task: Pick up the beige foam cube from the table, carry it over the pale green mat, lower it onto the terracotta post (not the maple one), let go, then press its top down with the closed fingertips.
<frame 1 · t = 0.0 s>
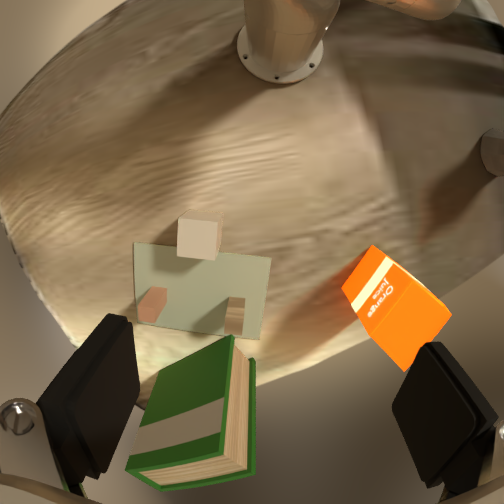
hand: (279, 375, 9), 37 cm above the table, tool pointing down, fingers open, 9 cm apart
orange juice: (372, 276, 47), on the table
hardback book: (205, 366, 53), on the table, touching mat
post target: (159, 294, 48), resting on mat
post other: (236, 304, 48), resting on mat
coffeepot: (491, 156, 40), on the table
beige foam cube: (204, 227, 45), on the table
mat: (197, 293, 48), on the table
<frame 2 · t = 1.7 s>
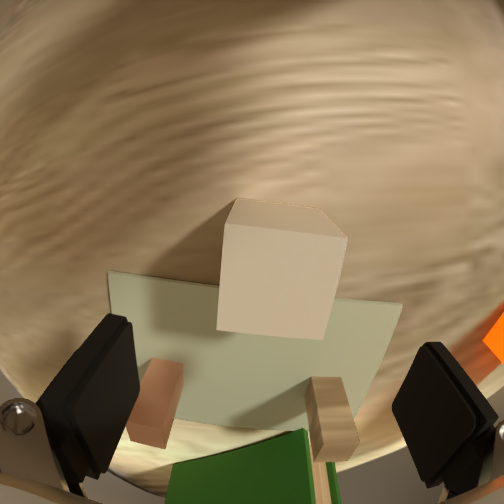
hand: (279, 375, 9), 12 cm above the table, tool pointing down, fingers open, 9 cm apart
hardback book: (249, 462, 28), on the table, touching mat
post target: (168, 371, 23), resting on mat
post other: (322, 387, 23), resting on mat
beige foam cube: (273, 242, 19), on the table
mat: (247, 371, 23), on the table
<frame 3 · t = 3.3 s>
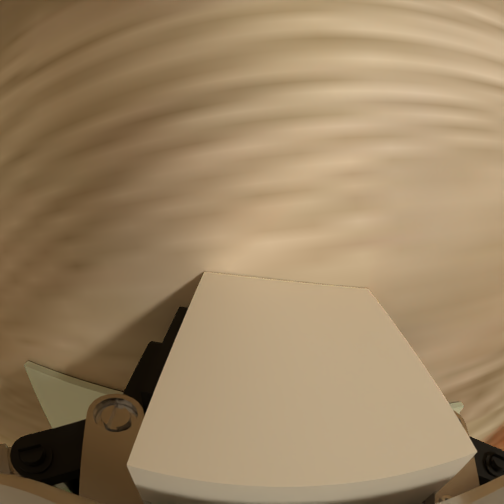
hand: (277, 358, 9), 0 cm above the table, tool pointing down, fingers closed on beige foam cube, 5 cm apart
beige foam cube: (277, 349, 10), on the table, touching gripper
mat: (236, 487, 13), on the table
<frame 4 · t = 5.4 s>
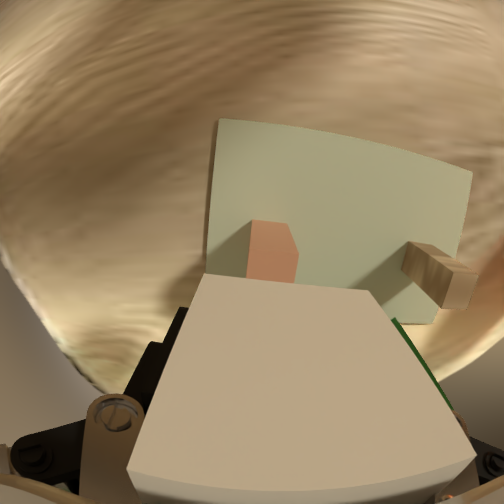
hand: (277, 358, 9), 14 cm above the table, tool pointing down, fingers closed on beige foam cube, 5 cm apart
hardback book: (329, 383, 28), on the table, touching mat
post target: (267, 238, 23), resting on mat
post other: (416, 257, 23), resting on mat
beige foam cube: (276, 351, 10), point 14 cm above the table, touching gripper
mat: (350, 234, 23), on the table
when the fingers open (3 cm above the table, at t = 7.8 s): beige foam cube drops 1 cm, resting on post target.
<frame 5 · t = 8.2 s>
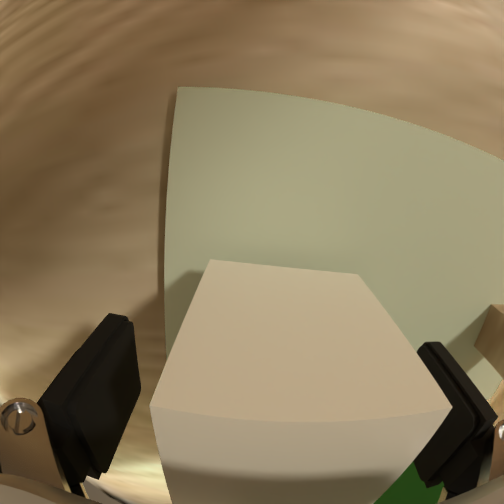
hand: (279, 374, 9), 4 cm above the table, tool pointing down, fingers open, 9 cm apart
hardback book: (351, 476, 17), on the table, touching mat
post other: (495, 325, 12), resting on mat
beige foam cube: (276, 331, 11), point 1 cm above the table, touching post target
mat: (415, 303, 12), on the table
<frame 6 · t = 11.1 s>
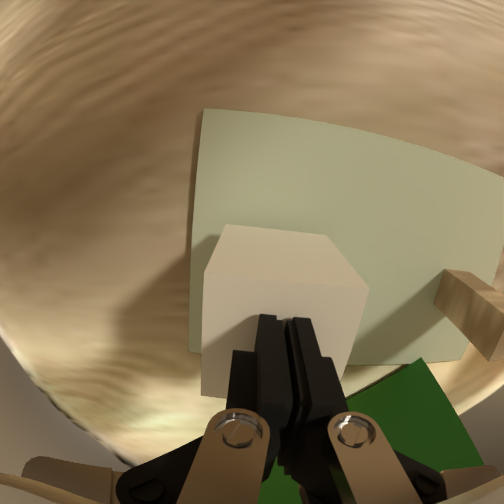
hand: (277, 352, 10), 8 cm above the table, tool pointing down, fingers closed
hardback book: (339, 428, 22), on the table, touching mat
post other: (452, 287, 17), resting on mat
beige foam cube: (270, 276, 16), point 1 cm above the table, touching gripper, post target
mat: (376, 263, 17), on the table
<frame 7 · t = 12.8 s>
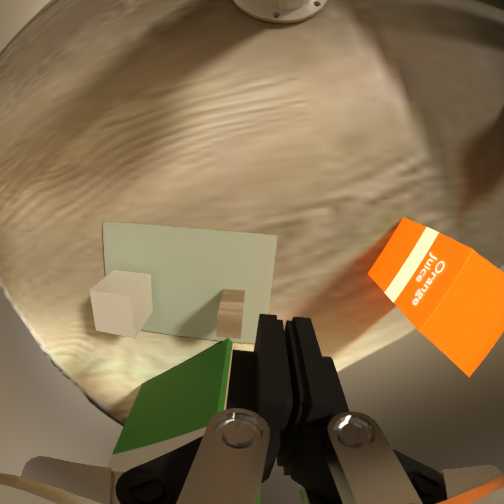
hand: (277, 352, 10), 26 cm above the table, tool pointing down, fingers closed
orange juice: (404, 259, 36), on the table
hardback book: (197, 379, 42), on the table, touching mat
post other: (233, 298, 37), resting on mat
beige foam cube: (133, 290, 36), point 1 cm above the table, touching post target
mat: (183, 285, 37), on the table
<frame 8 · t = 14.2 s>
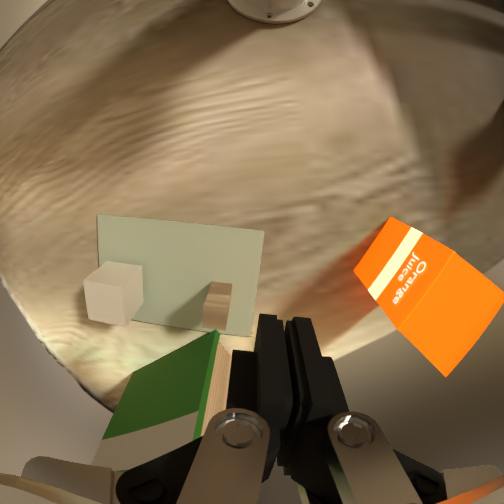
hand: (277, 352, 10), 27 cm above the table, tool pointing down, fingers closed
orange juice: (391, 257, 37), on the table
hardback book: (186, 368, 43), on the table, touching mat
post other: (221, 291, 38), resting on mat
beige foam cube: (125, 281, 37), point 1 cm above the table, touching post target
mat: (173, 277, 38), on the table
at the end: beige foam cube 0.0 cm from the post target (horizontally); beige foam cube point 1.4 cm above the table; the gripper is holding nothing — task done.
